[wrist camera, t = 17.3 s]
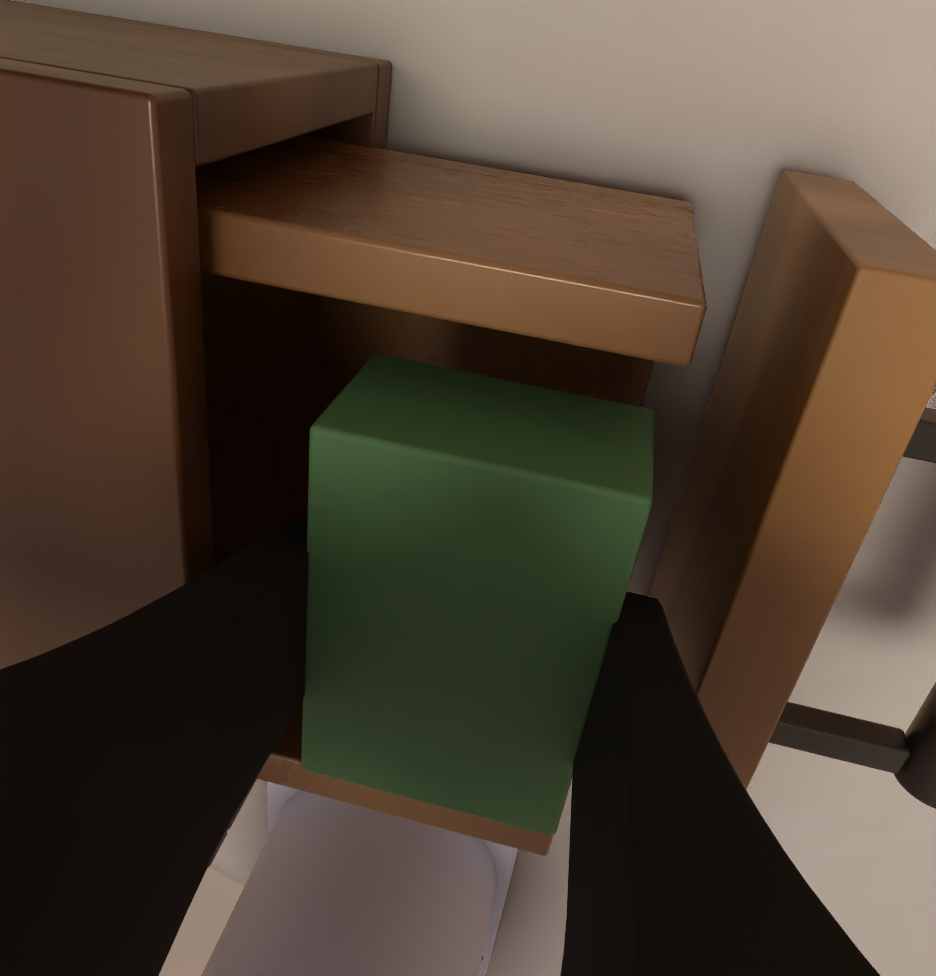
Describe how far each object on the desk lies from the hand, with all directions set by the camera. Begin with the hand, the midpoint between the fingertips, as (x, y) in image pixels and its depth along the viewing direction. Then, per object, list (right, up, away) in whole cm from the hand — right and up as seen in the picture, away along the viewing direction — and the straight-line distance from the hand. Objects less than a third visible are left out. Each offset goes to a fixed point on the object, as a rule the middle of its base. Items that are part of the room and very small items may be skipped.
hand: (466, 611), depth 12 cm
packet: (0, +1, +1) cm, 1 cm away
